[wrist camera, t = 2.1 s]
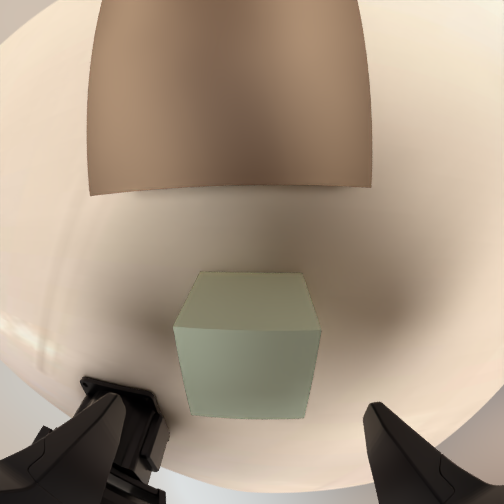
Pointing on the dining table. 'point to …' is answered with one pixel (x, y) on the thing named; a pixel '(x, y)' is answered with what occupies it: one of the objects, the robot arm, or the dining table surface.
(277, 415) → the sage block
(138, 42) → the walnut block
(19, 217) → the dining table surface
